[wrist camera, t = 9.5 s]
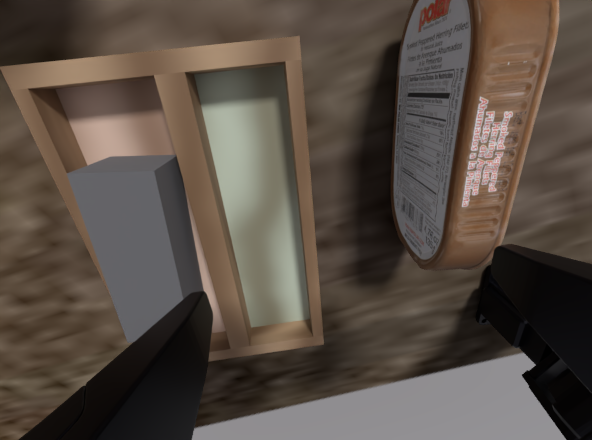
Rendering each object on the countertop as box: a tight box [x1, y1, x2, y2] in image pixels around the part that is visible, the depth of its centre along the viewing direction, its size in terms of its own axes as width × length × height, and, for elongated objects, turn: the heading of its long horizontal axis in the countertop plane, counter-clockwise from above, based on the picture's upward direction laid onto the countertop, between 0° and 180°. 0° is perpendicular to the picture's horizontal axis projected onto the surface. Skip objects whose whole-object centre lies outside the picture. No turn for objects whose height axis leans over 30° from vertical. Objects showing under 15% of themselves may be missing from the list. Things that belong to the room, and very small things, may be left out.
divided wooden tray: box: [0, 36, 324, 362], centre depth 19 cm, size 14×21×2 cm
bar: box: [67, 155, 204, 343], centre depth 17 cm, size 11×4×4 cm, turn 1°
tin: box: [391, 0, 559, 270], centre depth 15 cm, size 15×3×8 cm, turn 5°
